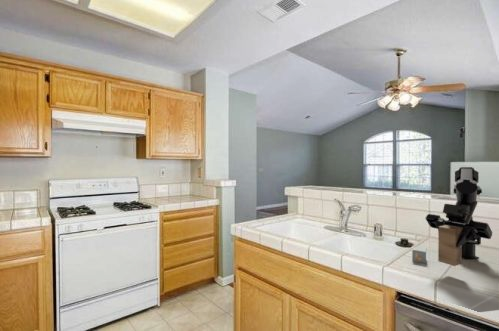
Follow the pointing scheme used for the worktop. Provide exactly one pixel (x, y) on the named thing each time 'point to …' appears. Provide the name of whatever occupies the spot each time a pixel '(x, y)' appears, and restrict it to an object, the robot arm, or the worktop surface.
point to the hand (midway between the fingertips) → (448, 244)
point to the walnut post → (449, 245)
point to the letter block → (419, 254)
